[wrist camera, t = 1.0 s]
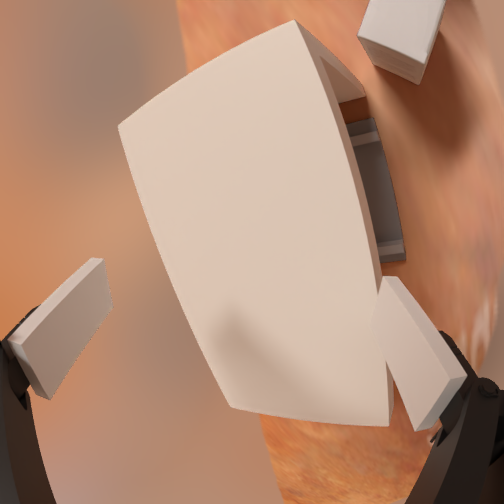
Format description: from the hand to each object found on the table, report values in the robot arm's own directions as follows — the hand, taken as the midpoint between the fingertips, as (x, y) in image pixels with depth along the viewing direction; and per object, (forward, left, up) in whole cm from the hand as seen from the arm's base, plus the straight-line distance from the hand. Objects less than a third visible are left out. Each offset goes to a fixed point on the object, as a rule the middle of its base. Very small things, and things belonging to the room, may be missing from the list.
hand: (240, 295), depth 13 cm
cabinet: (+1, +1, -23) cm, 23 cm away
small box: (-12, -14, -23) cm, 30 cm away
